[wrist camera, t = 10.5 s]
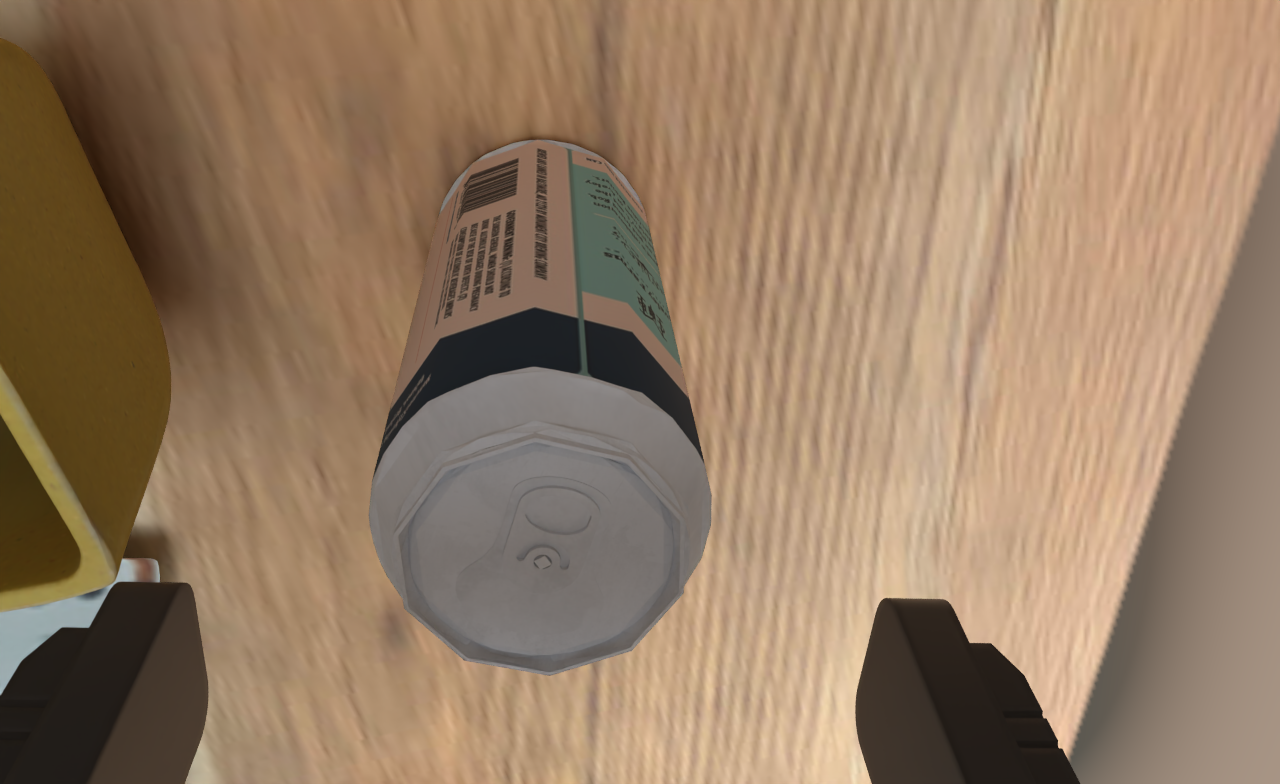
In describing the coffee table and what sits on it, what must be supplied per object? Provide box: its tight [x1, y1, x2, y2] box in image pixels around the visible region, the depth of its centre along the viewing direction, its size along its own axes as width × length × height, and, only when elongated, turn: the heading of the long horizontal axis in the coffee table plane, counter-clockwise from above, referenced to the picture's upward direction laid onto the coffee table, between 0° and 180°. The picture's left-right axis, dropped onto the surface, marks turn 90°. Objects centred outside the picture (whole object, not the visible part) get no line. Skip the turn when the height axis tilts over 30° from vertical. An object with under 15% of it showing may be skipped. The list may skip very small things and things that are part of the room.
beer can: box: [369, 140, 712, 676], centre depth 19 cm, size 5×5×12 cm
